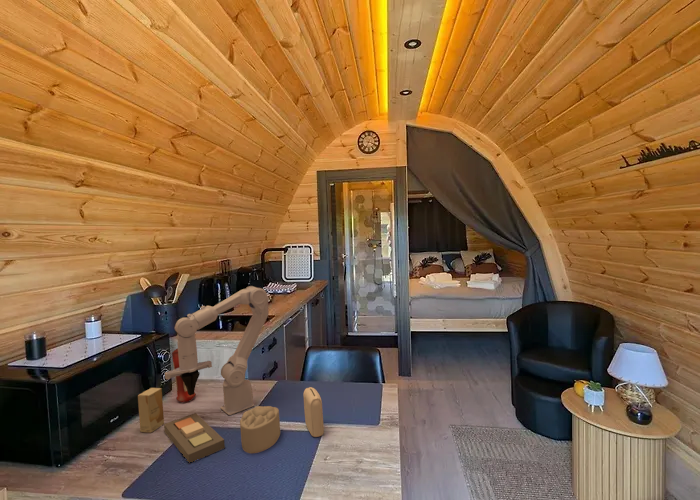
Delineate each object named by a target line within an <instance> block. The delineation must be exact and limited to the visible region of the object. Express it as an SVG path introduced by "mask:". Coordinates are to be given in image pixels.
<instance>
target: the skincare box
mask: <svg viewBox="0 0 700 500" xmlns="http://www.w3.org/2000/svg"><path fill="white" fill-rule="evenodd" d="M162 389H163V388H161V387H149V389H147V390H144V391H142V392H141V393H139V394H138V395H137V404H138V405H137V406H138V417H139V431H140V433H154V431H156V430H157V429H159V428H160V427H162V426H164V424H165V417H164V415H165V414H164V404H163V402H164V401H163V390H162Z"/></svg>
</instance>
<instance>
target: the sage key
mask: <svg viewBox="0 0 700 500" xmlns="http://www.w3.org/2000/svg"><path fill="white" fill-rule="evenodd" d="M210 441H212V438H211V437H210V436H209V435H208V434H207V433H204V434H202V435H199V436H197V437H194V438H192V439H189V443H190V444H191V445H192V446H193V448H196V447H198V446H200V445H203V444H205V443H208V442H210Z"/></svg>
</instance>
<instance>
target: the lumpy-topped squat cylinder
mask: <svg viewBox="0 0 700 500" xmlns="http://www.w3.org/2000/svg"><path fill="white" fill-rule="evenodd" d="M280 421H281V420H280V410H279V408H278V407H276V406H271V405H266V406H265V405H264V406H259V405H256V406H254V407H253V408H252V407H251V409H250V408H249V409H248V410H246V411H245V412H243V414H242V416H241V418H240V420H239V427H240V428H239V429H240V441H241V448H242V451H244V452H245V453H246V454H258V453H261V452H264V451H266V450H268V449H270V448H271V447H273V446H275V444H276V443H277V441H278V440H279V438H280V436H281V424H280V423H281V422H280Z"/></svg>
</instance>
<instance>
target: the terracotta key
mask: <svg viewBox="0 0 700 500" xmlns="http://www.w3.org/2000/svg"><path fill="white" fill-rule="evenodd" d="M193 423H196V422H195V421H194V420H193V419H192V418H191V417H190V418H187V419H184V420H182V421H179V422H176V423H174V424H175V427H176V428H177V429H178V430H181V428H182V427H185V426H188V425H191V424H193Z"/></svg>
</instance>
